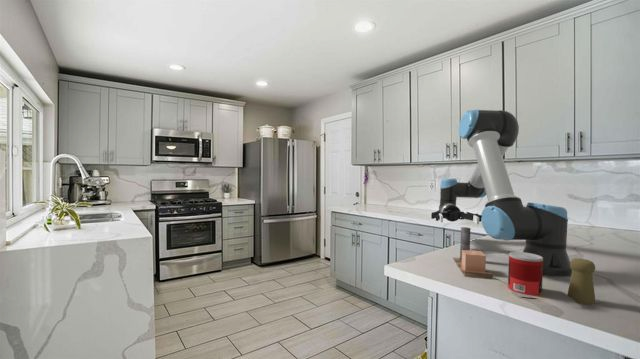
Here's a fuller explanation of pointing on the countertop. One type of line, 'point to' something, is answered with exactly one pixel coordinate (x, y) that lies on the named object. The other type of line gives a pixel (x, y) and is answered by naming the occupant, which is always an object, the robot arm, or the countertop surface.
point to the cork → (582, 282)
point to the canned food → (525, 273)
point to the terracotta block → (473, 261)
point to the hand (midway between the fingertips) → (459, 220)
